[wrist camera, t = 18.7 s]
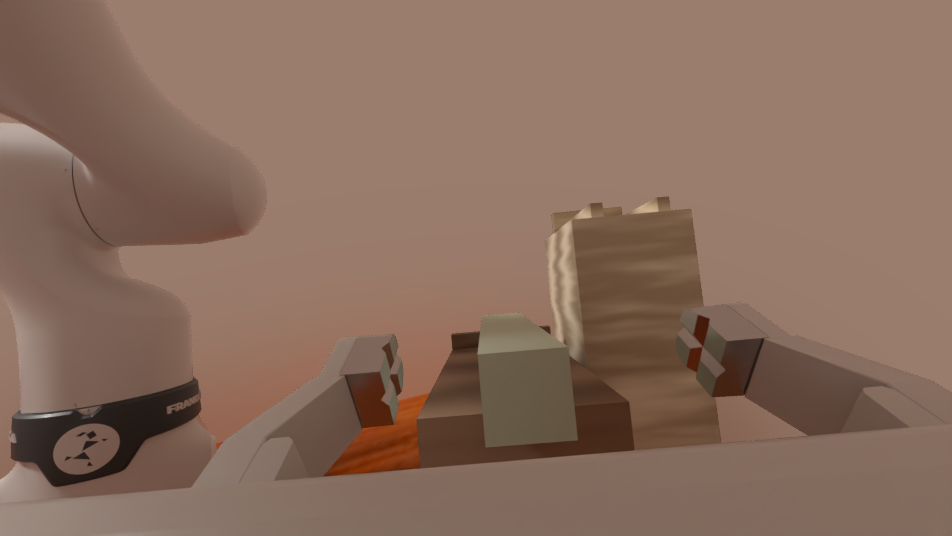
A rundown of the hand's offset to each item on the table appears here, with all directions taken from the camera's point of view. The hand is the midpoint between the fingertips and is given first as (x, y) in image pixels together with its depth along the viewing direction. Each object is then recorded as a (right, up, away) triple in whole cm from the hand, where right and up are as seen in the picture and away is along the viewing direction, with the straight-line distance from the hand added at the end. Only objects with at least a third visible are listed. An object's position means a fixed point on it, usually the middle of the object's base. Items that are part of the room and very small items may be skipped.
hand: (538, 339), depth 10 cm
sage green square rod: (+1, -5, +12) cm, 13 cm away
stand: (+14, -20, +24) cm, 34 cm away
